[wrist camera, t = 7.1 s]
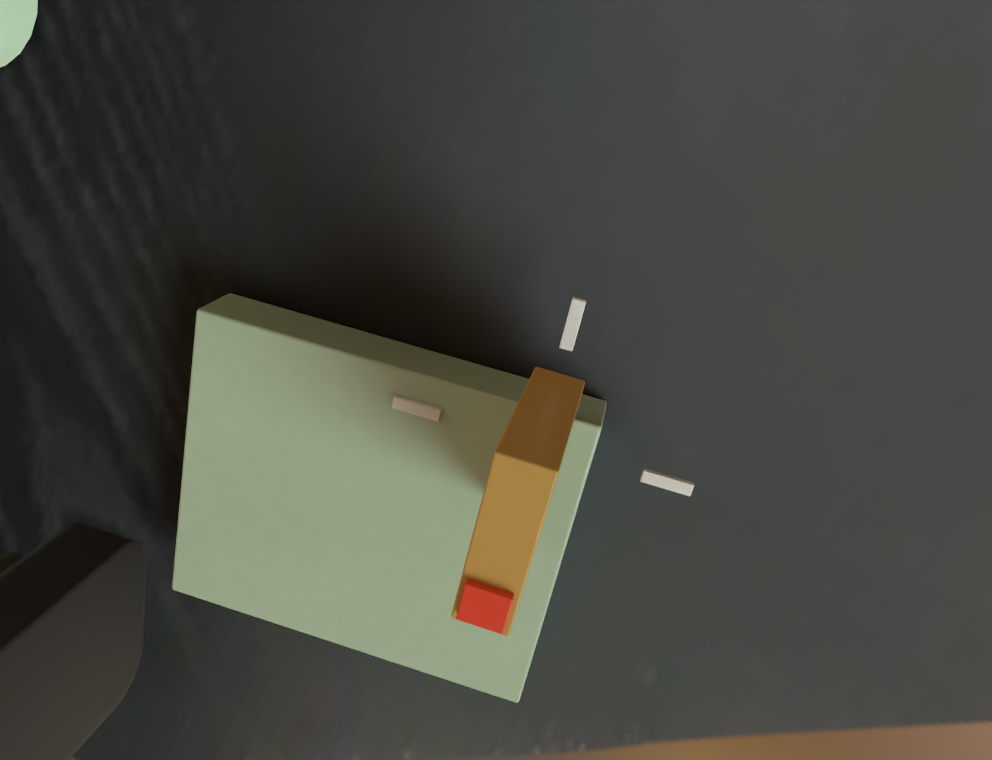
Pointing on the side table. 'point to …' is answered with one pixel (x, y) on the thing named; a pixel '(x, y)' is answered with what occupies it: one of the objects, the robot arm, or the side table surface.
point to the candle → (15, 27)
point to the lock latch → (516, 501)
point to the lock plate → (360, 488)
